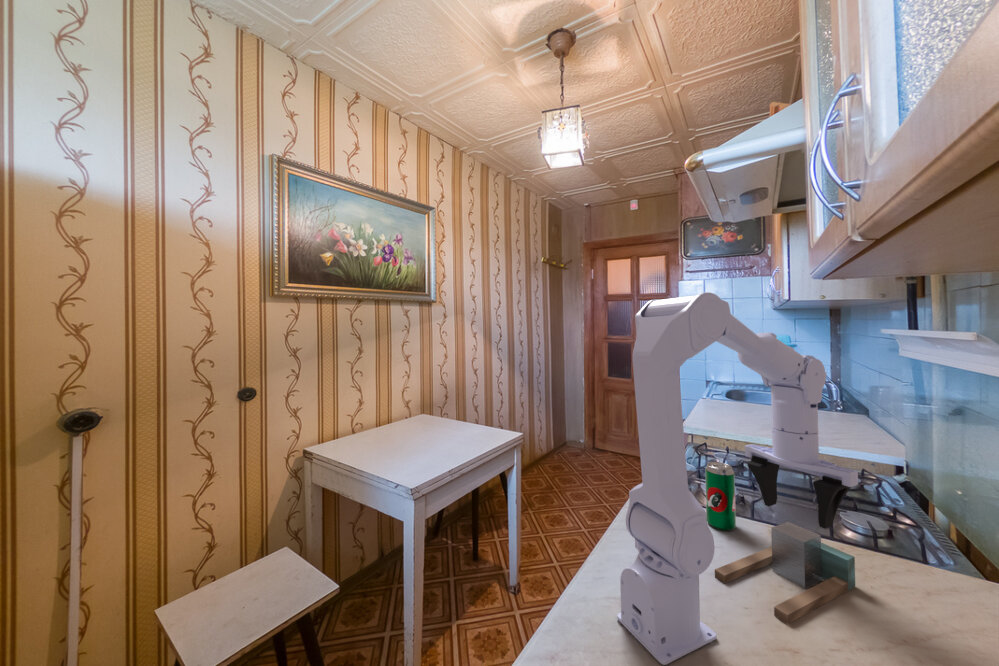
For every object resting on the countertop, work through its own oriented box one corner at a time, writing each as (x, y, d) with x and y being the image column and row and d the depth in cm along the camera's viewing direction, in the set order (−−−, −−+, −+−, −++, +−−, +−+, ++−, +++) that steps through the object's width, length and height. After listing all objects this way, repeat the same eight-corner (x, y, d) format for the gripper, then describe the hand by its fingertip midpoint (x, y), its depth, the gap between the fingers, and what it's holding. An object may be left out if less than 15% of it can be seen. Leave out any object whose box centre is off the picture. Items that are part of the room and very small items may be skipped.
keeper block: (805, 588, 54) (803, 542, 54) (772, 571, 58) (771, 527, 58) (822, 580, 56) (820, 535, 56) (789, 563, 60) (787, 521, 60)
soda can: (740, 533, 69) (739, 471, 69) (711, 530, 70) (710, 469, 70) (729, 519, 74) (727, 461, 74) (702, 517, 75) (701, 460, 75)
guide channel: (787, 624, 47) (786, 590, 47) (714, 577, 57) (714, 548, 57) (855, 586, 54) (854, 556, 54) (780, 550, 63) (779, 524, 63)
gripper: (868, 437, 52) (870, 531, 52) (761, 417, 65) (763, 492, 65) (841, 444, 49) (844, 543, 49) (736, 421, 63) (738, 499, 62)
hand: (796, 514), depth 57 cm, fingers open, 7 cm apart
